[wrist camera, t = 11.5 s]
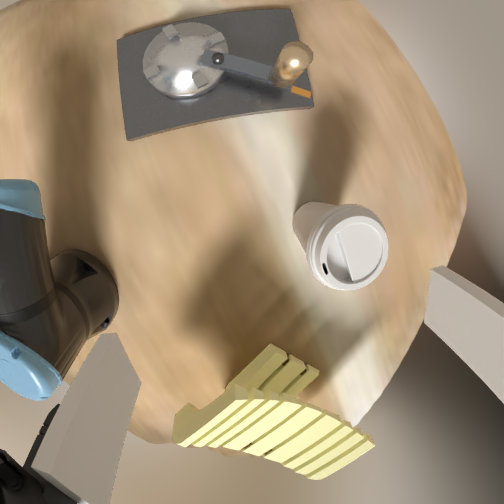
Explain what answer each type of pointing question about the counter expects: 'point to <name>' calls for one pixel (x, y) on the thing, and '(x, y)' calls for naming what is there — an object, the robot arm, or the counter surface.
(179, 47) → the lever with amber grip
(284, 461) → the slatted curved stool
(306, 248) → the coffee cup
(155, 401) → the counter surface
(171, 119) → the plate
